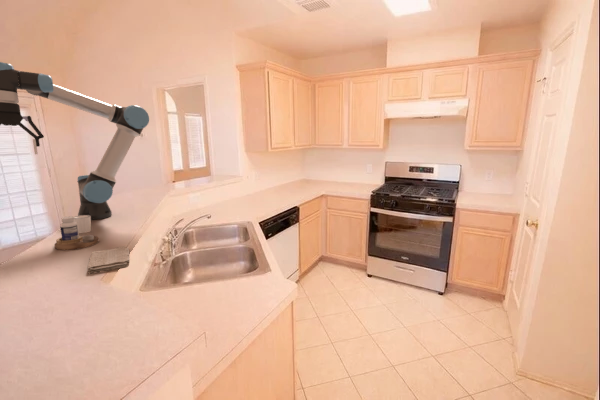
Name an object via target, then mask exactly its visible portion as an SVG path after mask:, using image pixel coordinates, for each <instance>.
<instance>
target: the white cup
mask: <svg viewBox="0 0 600 400" xmlns="http://www.w3.org/2000/svg"><path fill="white" fill-rule="evenodd" d="M73 217H74V219H75V220H74V222H76V223H77V225H78V233H79V234H86V233H89V232H91V231H92V229H91V228H92V227H91V226H92V223H91V221H92V220H91V216H90V215H80V216H78V215H75V216H73Z"/></svg>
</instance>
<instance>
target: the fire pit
mask: <svg viewBox="0 0 600 400" xmlns="http://www.w3.org/2000/svg"><path fill="white" fill-rule="evenodd" d="M55 240H56V242H55V243H54V248H55V250H57V251H74V250H81V249H85V248H89V247H90V248H91V247H92V246H94V245H97V244H98V243H99V237H98V236H94V235H93V234H89V235H88V234H87V235H80V234H79V238H77V239H74V240H69V241H62V236H61V237H59V238H56V239H55Z"/></svg>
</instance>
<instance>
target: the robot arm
mask: <svg viewBox="0 0 600 400" xmlns="http://www.w3.org/2000/svg"><path fill="white" fill-rule="evenodd" d="M18 90H21V91H26V92H27V93H28V94H30V95H33V96H38V97H41V98H44V99H48V100H50V101H52V102H53V101H54V102H56V103H59V104H63V105H66V106H68V107H71V108H74V109H77V110H80V111H83V112H87V113H89V114H93V115H96V116H98V117H102V118H104V119H106V120H108V121H109V123H110V122H111V123H114V124H115V125H116V127H117V129H116V131H115V134H114V135H113V137H112V139H111V141H110V143H109V145H108V146H107V148H106V150H105V152H104V154H103V155H102V158H101V160H100V162H99V164H98V166H97V168H96V169H95V170H93V171H90V173H89V174H88V175H87V174H86V175H85V174H84V175H78V177H77V185H78V192H79V193H78V194H79V202H80V205H79V209H78V212H77V216H80V215H90V216H91V221H92V220H93V221H94V220H95V221H96V220H100V219H101V220H102V219H106V218H109V217H112V216H111V215H113V212H112V210H111V207H110V206H109V203H108V201H109V199H111V197H112V196H113V191H114V190H113V189H114V188H115V185H116V183H117V180H116V179H115V177H116V176H117V173H118V172H119V170H120V168H121V166H122V164H123V162H124V160H125V158H126V156H127V154H128V152H129V150H130V148H131V147H132V145H133V142H134V141H135V138H136V137H139V136H140V135H141V134H142V132H143V130H144V129H146V127H147V126H148V125H149V123H150V116H149V113H148V111H147V110H146V109H144V108H143V107H142V106H139V105H135V104H134V105H133V104H132V105H128V106H120V105H117V104H115V103H114V104H109V103H107V102H103V101H101V100H98V99H95V98H93V97H90V96H86V95H84V94H82V93H79V92H76V91H73V90H70V89H68V88H66V87H62V86H59V85H58V84H57V85H56V84H54V82H53V78H52V76H51V75H49V74H45V73H39V72H31V71H23V70H17V69H15V67H14V66H13V64H11V63H7V62H2V61H0V126H1V125H3V126H12V127H15V126H19V127H20V128H21V129H22V130H24V131H25V132H26V133H28V134H29V135H30V136H31V137H33V138H32V144H33V145H32V146H33V150H34V152H33V153H34V155H38V148H37V147H39V148H40V147H41V146H40V145H41V144H40V139H44V136H45V135H44V134H43V133H42V132H41V131H40V130H39V128H38V127H37V125H36V124H35V123H34V121H33V120H32V116H30V115H27V116H23V115H22V113H21V108H20V104H19V103H20V102H19V101H20V100H19V93H18ZM23 120H25V121H26V122H28V124H29V125H30V126H31V127H32V129H33V130H34V131H35V133H36V134H35V133H34V132H33V131H31V130H30V129H29V128H28V127H27V126H26V125H24V124H23V123H22V121H23Z"/></svg>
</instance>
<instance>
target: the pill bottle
mask: <svg viewBox="0 0 600 400" xmlns="http://www.w3.org/2000/svg"><path fill="white" fill-rule="evenodd" d="M74 217H75V216H72V215H70V216H64V217H61V222H62V223H60V226H59V227H60V228H59V229H60V234H61V235H60V236H61V237H62V241H69V240H74V239H77V238H79V235H80V233H78V225H77V223H76V222H74V220H75V219H74Z"/></svg>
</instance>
